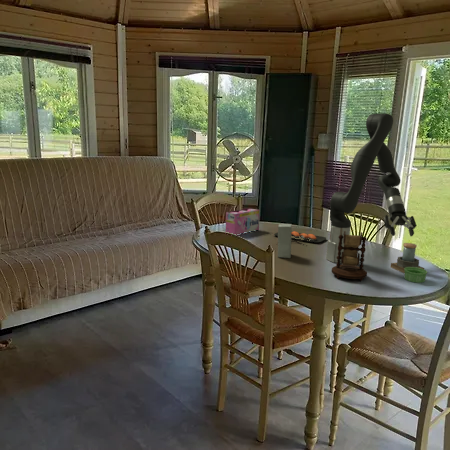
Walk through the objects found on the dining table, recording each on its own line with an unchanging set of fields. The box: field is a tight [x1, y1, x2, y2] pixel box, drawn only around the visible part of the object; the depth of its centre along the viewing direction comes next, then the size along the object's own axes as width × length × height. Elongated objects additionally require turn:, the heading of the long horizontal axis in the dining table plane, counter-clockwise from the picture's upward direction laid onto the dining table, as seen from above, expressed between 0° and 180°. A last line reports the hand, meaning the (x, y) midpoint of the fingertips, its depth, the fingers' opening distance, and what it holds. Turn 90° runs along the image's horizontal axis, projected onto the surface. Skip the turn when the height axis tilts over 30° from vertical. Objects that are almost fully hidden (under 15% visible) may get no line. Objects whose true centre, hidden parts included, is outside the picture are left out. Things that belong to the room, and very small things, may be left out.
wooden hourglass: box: [331, 231, 368, 282], centre depth 175 cm, size 15×15×20 cm
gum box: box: [225, 207, 260, 236], centre depth 250 cm, size 24×8×14 cm, turn 136°
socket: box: [390, 255, 425, 274], centre depth 187 cm, size 10×10×5 cm
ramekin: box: [403, 267, 428, 284], centre depth 174 cm, size 9×9×4 cm
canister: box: [401, 242, 418, 262], centre depth 186 cm, size 5×5×10 cm
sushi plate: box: [273, 230, 327, 247], centre depth 234 cm, size 29×30×4 cm
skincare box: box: [277, 223, 293, 259], centre depth 203 cm, size 8×7×16 cm
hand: (403, 235), depth 192 cm, fingers open, 8 cm apart
